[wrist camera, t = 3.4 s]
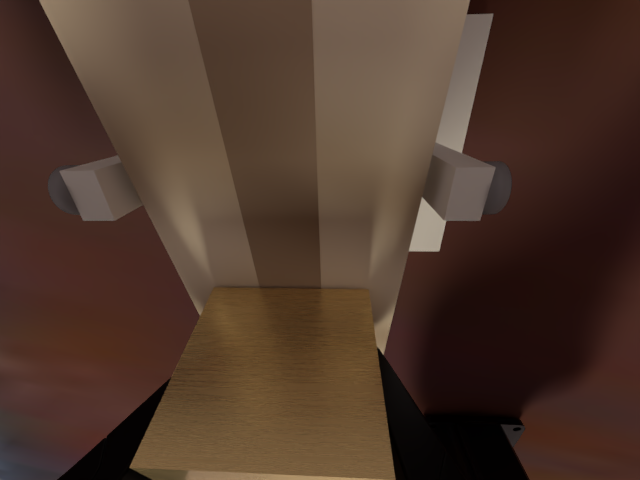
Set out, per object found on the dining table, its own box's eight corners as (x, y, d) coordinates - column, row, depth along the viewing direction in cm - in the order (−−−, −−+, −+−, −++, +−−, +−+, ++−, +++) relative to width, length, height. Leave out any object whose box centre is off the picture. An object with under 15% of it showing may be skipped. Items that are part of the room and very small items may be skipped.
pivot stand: (434, 244, 12) (496, 332, 7) (177, 243, 12) (89, 324, 8) (483, 19, 8) (670, -81, 4) (110, 31, 9) (-129, -43, 4)
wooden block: (358, 366, 11) (369, 516, 8) (244, 363, 12) (206, 507, 8) (369, 289, 8) (395, 479, 5) (213, 287, 9) (129, 467, 5)
